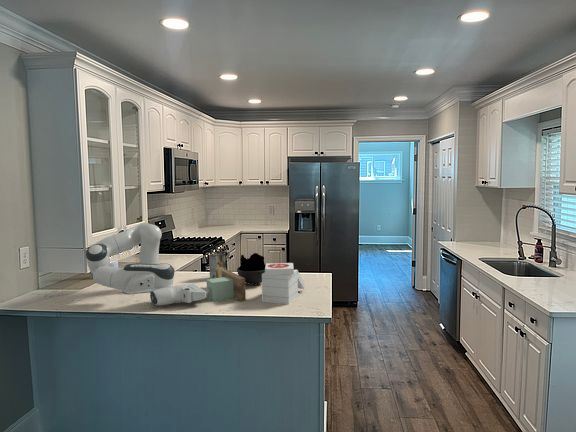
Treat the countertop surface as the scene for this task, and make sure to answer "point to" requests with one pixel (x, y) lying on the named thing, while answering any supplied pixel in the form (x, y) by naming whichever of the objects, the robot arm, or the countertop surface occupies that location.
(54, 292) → the countertop surface
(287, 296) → the pizza box stack
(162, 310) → the countertop surface
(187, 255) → the countertop surface
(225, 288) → the sage block
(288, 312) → the countertop surface
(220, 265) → the coffee box
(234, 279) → the walnut backstop board
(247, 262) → the coal bowl
